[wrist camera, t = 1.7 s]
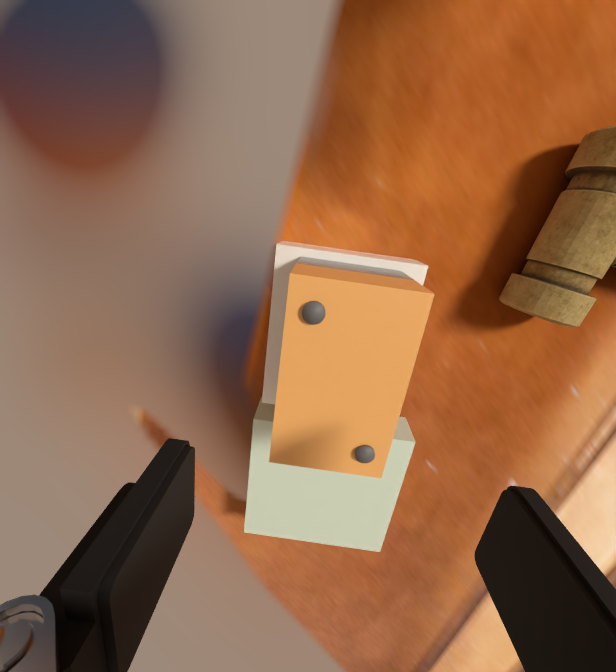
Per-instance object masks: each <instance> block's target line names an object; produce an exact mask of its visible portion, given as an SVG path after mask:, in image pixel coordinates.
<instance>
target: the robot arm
mask: <svg viewBox="0 0 616 672" xmlns="http://www.w3.org/2000/svg"><path fill="white" fill-rule="evenodd" d="M194 483H195V448H194V447H190V444H189V441H184V440H178V439H170V438H169V439H168V440H167V441H166V442H165V443H164V445H163V446H162V447H161V449H160V450H159V451H158V453H157V454H156V456H155V457H154V458H153V460H152V461H151V463H150V464H149V465H148V467H147V468H146V470H145V471H144V472H143V474H142V475H141V476H140V478H139V479H138V481H137V482H136V483H127V484H125V485H124V486H123V487H122V488H121V489H120V490H119V492H118V493H117V494H116V496H115V497H114V498H113V500H112V501H111V502H110V504H109V505H108V506H107V508H106V509H105V510H104V511H103V513H102V514H101V515H100V516H99V518H98V519H97V520H96V522H95V523H94V524H93V526H92V527H91V528H90V530H89V531H88V532H87V534H86V535H85V536H84V537H83V539H82V540H81V541H80V543H79V544H78V545H77V547H76V548H75V549H74V551H73V552H72V553H71V554H70V556H69V557H68V558H67V560H66V561H65V562H64V564H63V565H62V566H61V568H60V569H59V570H58V571H57V573H56V574H55V575H54V577H53V578H52V579H51V581H50V582H49V583H48V585H47V586H46V587H45V588H44V590H43V591H42V592H41V594H40V595H39V596H38V595H27V596H21V597H18V598H15V599H12V600H9V601H6V602H4V603H3V604H1V605H0V672H127V671H128V669H129V667H130V664H131V662H132V660H133V658H134V655H135V653H136V651H137V649H138V646H139V644H140V642H141V639H142V637H143V635H144V633H145V630H146V628H147V626H148V623H149V621H150V619H151V616H152V614H153V612H154V610H155V607H156V605H157V603H158V600H159V598H160V596H161V593H162V591H163V589H164V587H165V584H166V582H167V580H168V577H169V575H170V573H171V570H172V568H173V566H174V563H175V561H176V559H177V557H178V554H179V552H180V550H181V548H182V545H183V543H184V541H185V538H186V536H187V534H188V531H189V529H190V527H191V524H192V521H193V517H194ZM475 561H476V565H477V567H478V569H479V571H480V574H481V576H482V578H483V580H484V582H485V585H486V587H487V589H488V591H489V593H490V596H491V598H492V600H493V602H494V604H495V606H496V609H497V611H498V613H499V615H500V617H501V620H502V622H503V624H504V626H505V628H506V630H507V633H508V635H509V637H510V639H511V641H512V644H513V646H514V648H515V650H516V652H517V655H518V657H519V659H520V661H521V663H522V665H523V668H524V670H525V672H616V589H615V588H614V587H613V585H612V584H611V583H610V582H609V581H608V579H607V578H606V577H605V576H604V574H603V573H602V572H601V571H600V569H599V568H598V567H597V566H596V564H595V563H594V562H593V561H592V560H591V558H590V557H589V556H588V555H587V553H586V552H585V551H584V550H583V548H582V547H581V546H580V545H579V543H578V542H577V541H576V540H575V539H574V537H573V536H572V535H571V534H570V532H569V531H568V530H567V529H566V527H565V526H564V525H563V524H562V522H561V521H560V520H559V519H558V518H557V516H556V515H555V514H554V513H553V511H552V510H551V509H550V508H549V506H548V505H547V504H546V503H545V501H544V500H543V499H542V498H541V497H540V495H539V494H538V493H537V492H536V491H535V490H534V489H532V488H525V487H518V486H510V487H508V488H507V490H504V491H503V492H502V494H501V496H500V498H499V500H498V502H497V504H496V507H495V509H494V511H493V513H492V515H491V518H490V520H489V522H488V524H487V526H486V528H485V531H484V533H483V535H482V537H481V539H480V542H479V544H478V546H477V548H476V550H475Z"/></svg>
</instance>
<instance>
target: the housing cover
mask: <svg viewBox="0 0 616 672" xmlns="http://www.w3.org/2000/svg"><path fill="white" fill-rule="evenodd" d="M433 298H434V293H433V292H431V291H430V290H428V289H427V288H425V287H424V286H422V285H421V284H419V283H418V282H417V281H415V280H410V279H403V278H396V277H389V276H382V275H375V274H368V273H361V272H354V271H347V270H340V269H333V268H326V267H319V266H312V265H305V264H298V263H296V264H295V266H294V268H293V269H292V271H291V272H290V277H289V285H288V294H287V303H286V312H285V321H284V330H283V339H282V348H281V357H280V366H279V375H278V384H277V393H276V402H275V411H274V420H273V429H272V438H271V447H270V456H269V462H271V463H278V464H285V465H292V466H299V467H306V468H313V469H320V470H327V471H334V472H341V473H348V474H355V475H362V476H369V477H376V478H382V475H383V471H384V468H385V464H386V461H387V457H388V454H389V450H390V447H391V443H392V440H393V436H394V433H395V429H396V426H397V423H398V419H399V416H400V412H401V409H402V405H403V402H404V398H405V395H406V391H407V388H408V384H409V381H410V378H411V374H412V371H413V367H414V364H415V360H416V357H417V353H418V350H419V346H420V343H421V339H422V336H423V333H424V329H425V326H426V322H427V319H428V315H429V312H430V308H431V305H432V301H433Z"/></svg>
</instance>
